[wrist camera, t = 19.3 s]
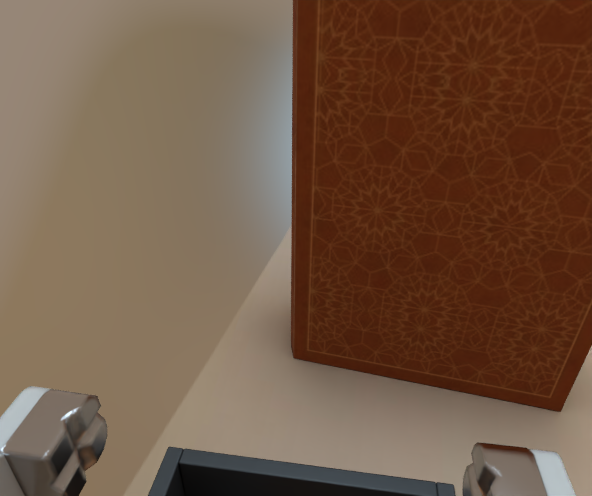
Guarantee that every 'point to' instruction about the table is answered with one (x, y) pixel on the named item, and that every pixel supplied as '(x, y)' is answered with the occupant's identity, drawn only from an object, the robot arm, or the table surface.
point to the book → (444, 192)
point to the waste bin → (275, 478)
